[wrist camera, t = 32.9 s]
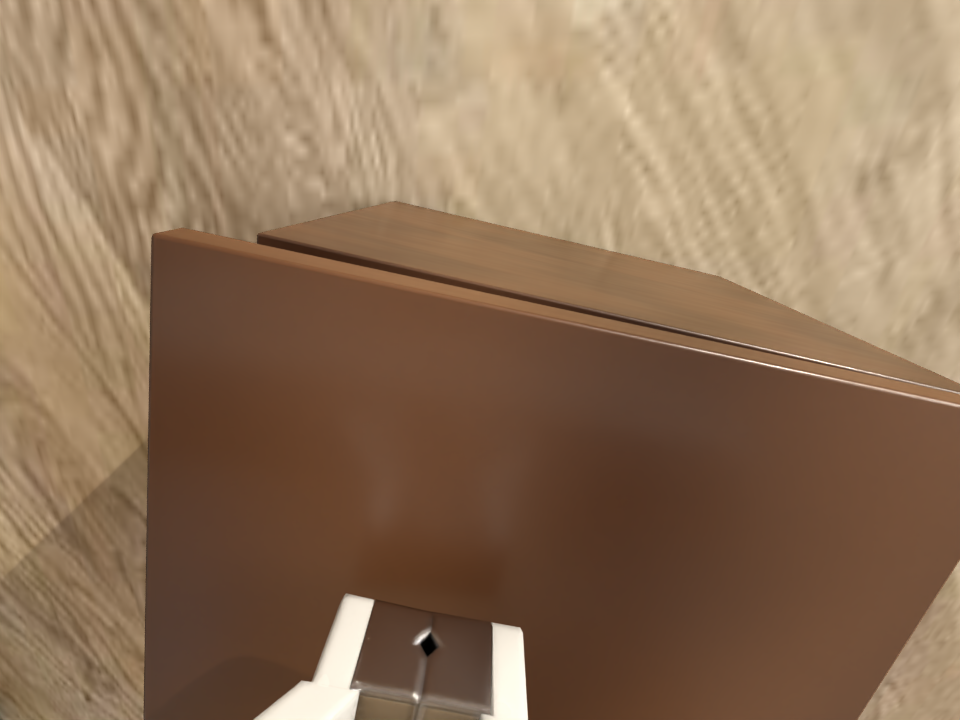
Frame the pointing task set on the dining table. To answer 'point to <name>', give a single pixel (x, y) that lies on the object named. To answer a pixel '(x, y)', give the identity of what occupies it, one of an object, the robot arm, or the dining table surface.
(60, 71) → the dining table surface
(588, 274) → the chest
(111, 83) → the dining table surface
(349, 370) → the lid
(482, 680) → the robot arm
